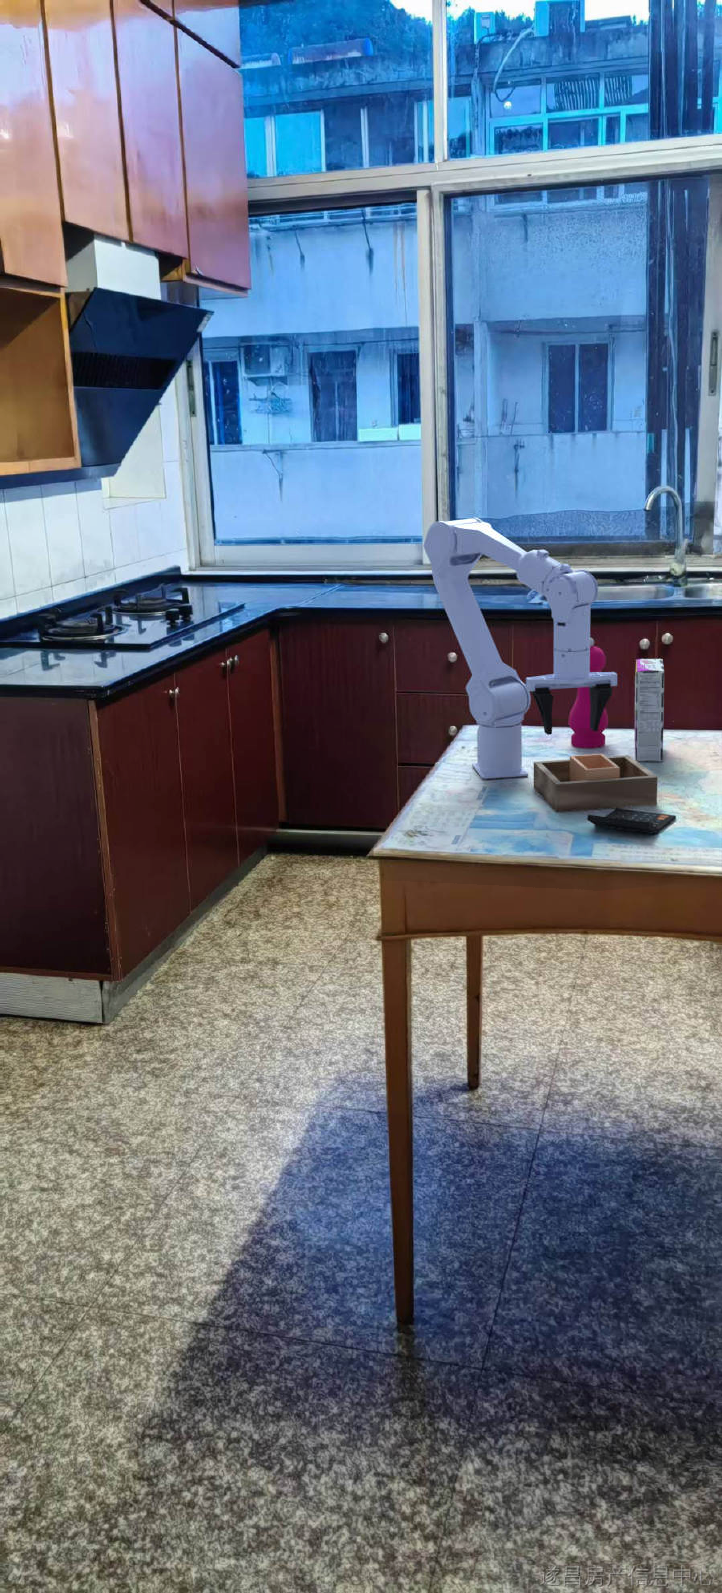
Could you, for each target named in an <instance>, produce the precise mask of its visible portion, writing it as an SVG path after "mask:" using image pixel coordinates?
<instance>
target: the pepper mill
mask: <svg viewBox="0 0 722 1593" xmlns="http://www.w3.org/2000/svg"><path fill="white" fill-rule="evenodd" d="M594 644H595V640H594V639H593V638H592V637H590V672H602V670H603V669H604V668H605V665H606V660H607V658H606V655H605V653H604V651H603V649H601V648H600V647H598V646H594ZM590 711H591V705H590V692H589V687H577V694H576V699H575V702H574V704H573V705H572V708H571V710H570V713H569V716H568V726H569V728H570V730H572V732H573V734H571V735H570V744H571V746H572V747H575V748H579V749H597V748H599V749H600V748H602V747H604V746H605V745H606V735H605V734H604V733H603V732H604V731H605V730H606V728H607V727H608V725H609V718H608V717H609V716H608V714H607V713H608V712H607V710H606V707H605V708H604V711H603V713H602V716H601V720H600V723H599V728H598V731H593V730H591V729H590Z"/></svg>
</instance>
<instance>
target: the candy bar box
mask: <svg viewBox="0 0 722 1593" xmlns="http://www.w3.org/2000/svg"><path fill="white" fill-rule="evenodd" d="M634 672H635V675H634V754H635V761H637V762H638V763H661V762H663V761H664V760H663V757H664V756H663V755H664V721H665V720H664V716H665V715H664V714H665V713H664V711H665V709H664V708H665V707H664V704H665V698H664V697H665V695H664V694H665V667H664V661H663V659H662V658H638V659H635V671H634Z"/></svg>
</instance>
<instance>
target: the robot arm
mask: <svg viewBox="0 0 722 1593" xmlns="http://www.w3.org/2000/svg"><path fill="white" fill-rule="evenodd" d="M423 549H424V550H425V554H426V556H427V558H428V560H429V561H428V562H430V565H431V572H432V578H433V579H432V580H433V584H434V586H435V588H436V591H437V594H438V595H439V596H438V597H439V598H440V600H441V603H442V606H443V608H444V610H445V613H446V616H447V617H448V620H449V622H450V624H451V627H452V629H453V633H454V634H455V637H456V639H457V641H458V644H459V647H460V648H461V651H462V654H463V655H464V656H463V657H464V658H465V661H466V662H467V666H468V668H469V671H470V673H471V677H470V679H469V680H468V682H467V683H466V686H465V690H466V693H467V696H468V705H469V711H470V713H471V715H472V717H473V719H475V721H476V725H478V728H477V732H476V741H477V742H476V745H477V746H476V748H477V749H476V750H477V752H476V753H477V758H476V760H477V762H473V763H471V767H473V768H474V770H475V772H476V773H477V774H478V775H479V776H480V777H481V778H482V779H484V780H487V779H489V780H490V779H501V778H503V779H504V778H514V777H515V778H516V777H518V778H519V777H527V776H529V772H528V771H527V770H526V769H525V768H524V767H523V762H522V761H523V760H522V758H523V757H522V756H523V753H522V752H523V749H522V748H523V746H522V745H523V744H522V742H523V741H522V727H523V726H522V725H523V724H522V721H524V720H525V718H524V717H525V714H526V713H527V712H528V710H529V709H530V706H531V704H532V703H531V700H532V698H531V695H532V697H533V699H534V702H535V703H536V705H537V708H538V711H539V713H540V717H541V720H542V725H543V729H544V734H546V735H548V736H549V735H553V718H552V714H553V703H554V695H553V694H552V693H551V692H552V691H551V690H557V689H559V690H560V689H572V688H573V689H574V688H578V687H589V692H590V705H591V711H590V729H591V730H593V731H598V728H599V723H600V720H601V716H602V713H603V711H604V708H605V709H606V705H607V704H608V702H609V700H610V699H611V696H612V695H613V688H612V687H617V686H618V674H617V672H615V671H611V672H610V671H608V672H607V671H606V672H602V671H601V672H590V638H591V606H592V605H593V603H594V602H595V601H596V599H597V597H598V595H599V587H598V582H597V580H596V578H595V577H594V575H592V573H590V572H589V570H586V569H577V570H575V571H574V570H572V569H571V565H570V564H568V563H561V562H560V561H558V560H556V559H554V558H553V557H550V556H549V554H550V553H549V551H547V550H545V549H538V550H537V549H533V550H530V551H526V550H524V549H523V548H521V547H520V546H519V545H517V544H515V543H514V542H512V541H511V540H509V539H508V538H506V537H505V536H503V535H502V534H501V533H499V532H498V531H496V530H495V529H493V528H492V525H491V523H488V522H486V521H483V520H482V519H480V518H478V517H468V518H466V519H457V520H455V519H454V520H449V521H444V520H443V521H442V520H439V521H436V522H434V523H432V524H431V525H430V526H429V528H428V530H427V532H426V536H425V539H424V544H423ZM482 555H483V556H486V557H488V558H490V559H492V560H494V561H495V562H497V563H499V564H501V565H503V566H506V567H508V568H510V569H512V570H513V571H515V572H516V573H515V574H516V578H517V580H518V581H519V583H521V584H524V585H525V586H526V587H528V588H530V589H532V590H533V591H534V592H537V593H538V594H540V595H542V596H543V597H545V599H546V601H547V604H548V605H549V608H550V610H551V618H552V620H553V674H552V673H551V674H545V675H538V676H530V677H525V683H524V682H523V681H522V680H521V679H520V677H519V675H518V673H517V670H516V669H514V668H513V667H511V666H509V665H508V664H506V663H504V662H503V661H502V658H501V656H500V654H499V651H498V649H497V646H496V644H495V642H494V639H493V636H492V635H491V632H490V630H489V627H488V625H487V622H486V620H485V618H484V615H483V613H482V611H481V608H480V606H479V604H478V601H477V600H476V596H475V594H474V592H473V589H472V587H471V585H470V582H469V576H470V573H471V571H472V570H473V569H474V568H475V566H476V565H477V563H478V561H479V560H480V558H482ZM530 692H531V693H530Z"/></svg>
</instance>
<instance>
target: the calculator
mask: <svg viewBox="0 0 722 1593" xmlns="http://www.w3.org/2000/svg"><path fill="white" fill-rule="evenodd" d="M676 820H677V815H675V814H668V813H667V814H665V813H659V812H651V811H642V810H636V809H628V808H627V809H626V808H613V810H611V811H610V812H609V813H607V814H606V815H605V816H604V815H603V816H602V815H597V814H595V815H594V814H587V817H586V821H588V822H589V823H591V824H593V825H594V826H596V827H602V828H603V827H604V828H608V829H609V828H610V829H618V830H626V831H633V832H639V833H647V834H654V835H658V834H660V832H661V831H663V830H664V829H666V828H667V827H669V825H671V824H672V823H673V822H674V821H676Z"/></svg>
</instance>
